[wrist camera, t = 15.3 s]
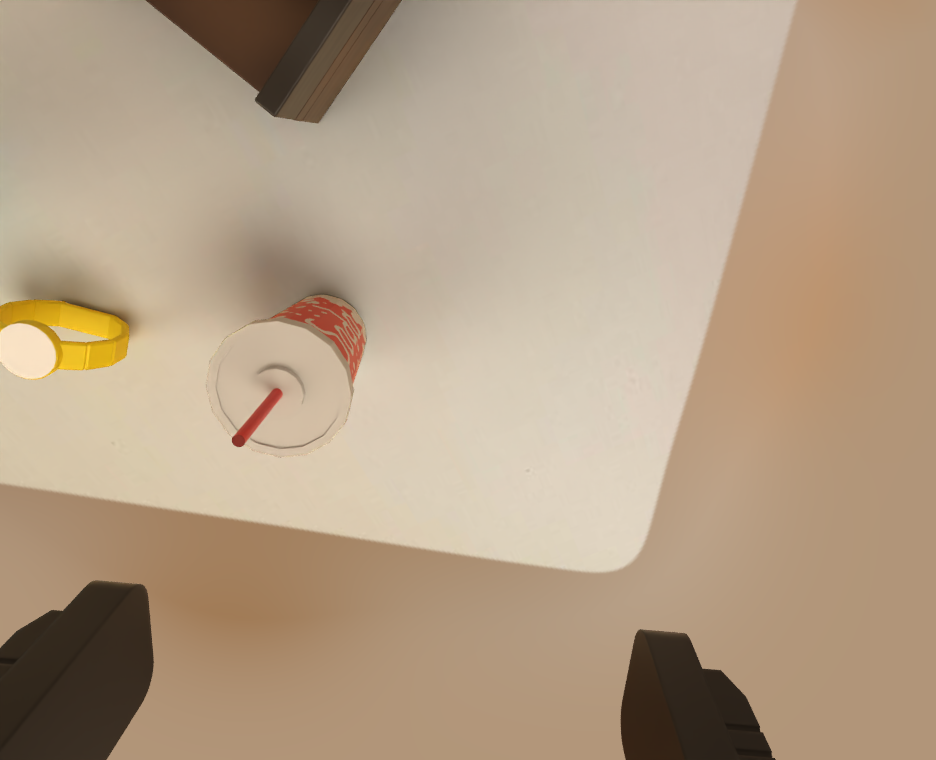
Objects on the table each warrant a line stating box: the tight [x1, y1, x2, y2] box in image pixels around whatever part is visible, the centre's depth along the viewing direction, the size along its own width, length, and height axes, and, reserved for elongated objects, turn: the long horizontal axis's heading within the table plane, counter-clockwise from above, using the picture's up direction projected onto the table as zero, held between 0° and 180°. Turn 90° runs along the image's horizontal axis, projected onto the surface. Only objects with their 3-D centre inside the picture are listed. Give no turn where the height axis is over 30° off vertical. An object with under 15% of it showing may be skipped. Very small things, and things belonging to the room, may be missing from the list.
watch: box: [0, 299, 129, 380], centre depth 34 cm, size 6×3×6 cm, turn 73°
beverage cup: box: [206, 294, 367, 458], centre depth 30 cm, size 6×6×14 cm
